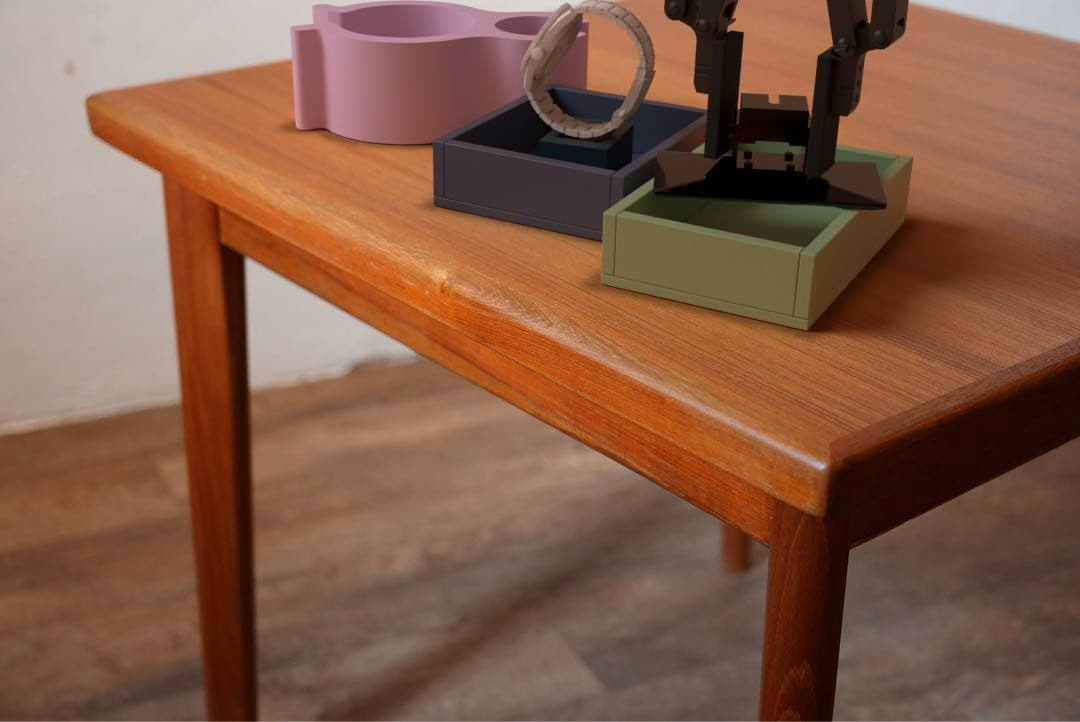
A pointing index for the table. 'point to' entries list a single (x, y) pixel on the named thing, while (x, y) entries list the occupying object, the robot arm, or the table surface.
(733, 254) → the green bin
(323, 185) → the table surface
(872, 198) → the dark piece
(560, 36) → the watch
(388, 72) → the pink double dish
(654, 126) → the blue bin
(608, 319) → the table surface
